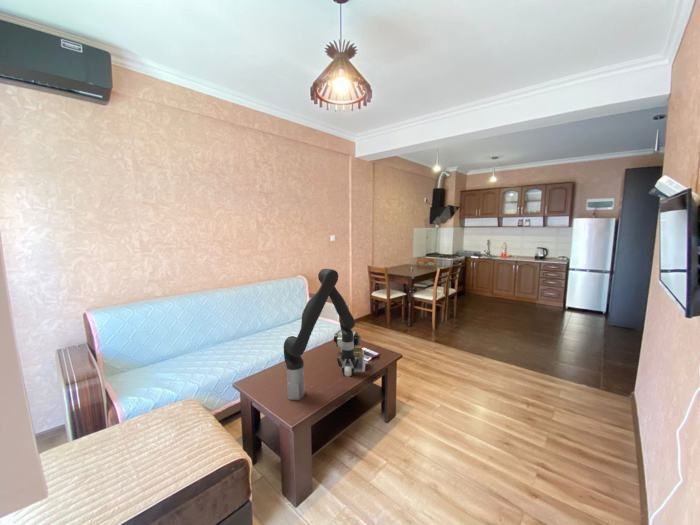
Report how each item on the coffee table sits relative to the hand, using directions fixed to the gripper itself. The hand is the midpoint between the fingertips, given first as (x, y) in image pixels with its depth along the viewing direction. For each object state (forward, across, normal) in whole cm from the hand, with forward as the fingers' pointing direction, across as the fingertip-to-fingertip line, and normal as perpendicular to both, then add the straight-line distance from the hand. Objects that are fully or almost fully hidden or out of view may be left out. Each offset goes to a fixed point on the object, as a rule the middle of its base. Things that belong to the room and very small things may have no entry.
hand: (348, 372), depth 185 cm
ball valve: (+1, -4, +26) cm, 27 cm away
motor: (+1, +5, +10) cm, 11 cm away
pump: (+1, 0, 0) cm, 1 cm away
